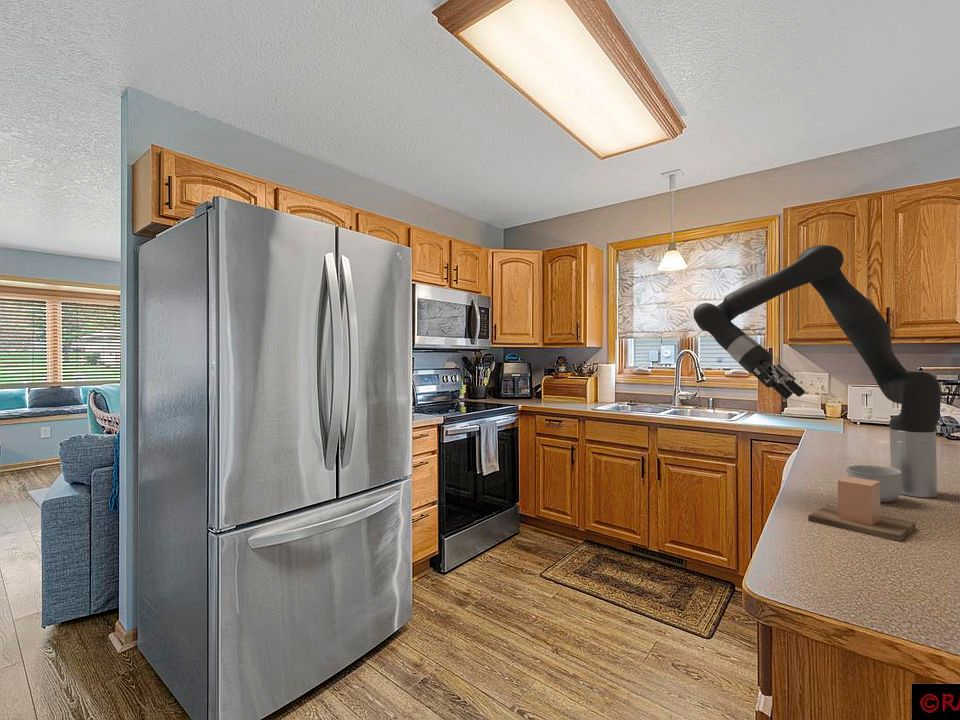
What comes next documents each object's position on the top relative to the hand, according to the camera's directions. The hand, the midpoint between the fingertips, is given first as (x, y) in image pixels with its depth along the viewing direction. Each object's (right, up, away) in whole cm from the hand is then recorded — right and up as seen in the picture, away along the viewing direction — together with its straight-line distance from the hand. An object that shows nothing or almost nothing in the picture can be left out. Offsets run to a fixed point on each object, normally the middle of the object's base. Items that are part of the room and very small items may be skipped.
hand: (796, 395), depth 123 cm
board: (+1, -27, -20) cm, 34 cm away
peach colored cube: (+1, -26, -20) cm, 33 cm away
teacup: (+20, -27, 0) cm, 34 cm away
